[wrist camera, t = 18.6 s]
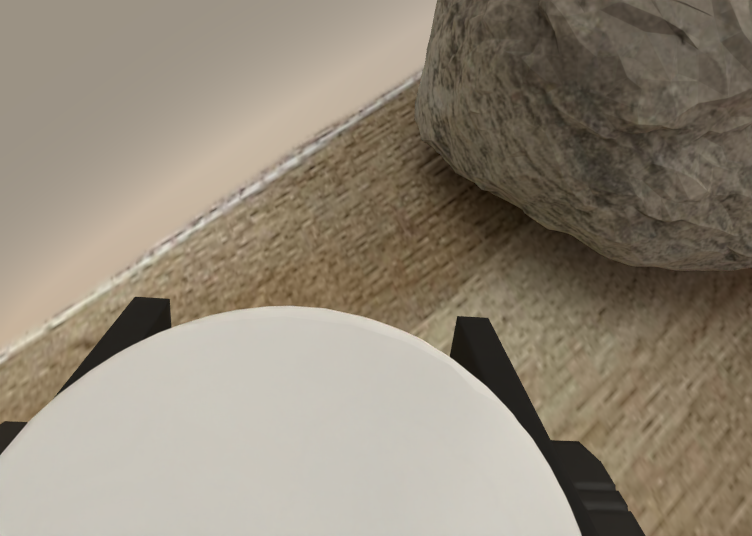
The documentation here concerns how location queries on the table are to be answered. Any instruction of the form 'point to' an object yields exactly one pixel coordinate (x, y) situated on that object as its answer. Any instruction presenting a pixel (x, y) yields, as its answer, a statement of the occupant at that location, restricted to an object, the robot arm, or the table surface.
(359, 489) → the supplement bottle
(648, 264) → the rock
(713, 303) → the table surface
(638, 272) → the table surface
